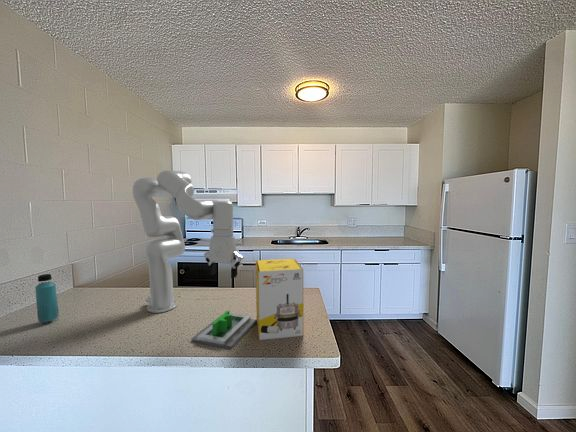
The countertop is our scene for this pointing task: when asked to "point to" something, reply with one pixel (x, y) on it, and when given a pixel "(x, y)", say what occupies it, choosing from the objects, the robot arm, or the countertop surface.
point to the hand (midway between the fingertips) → (223, 275)
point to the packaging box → (279, 298)
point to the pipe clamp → (222, 323)
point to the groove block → (231, 337)
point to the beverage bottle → (46, 299)
